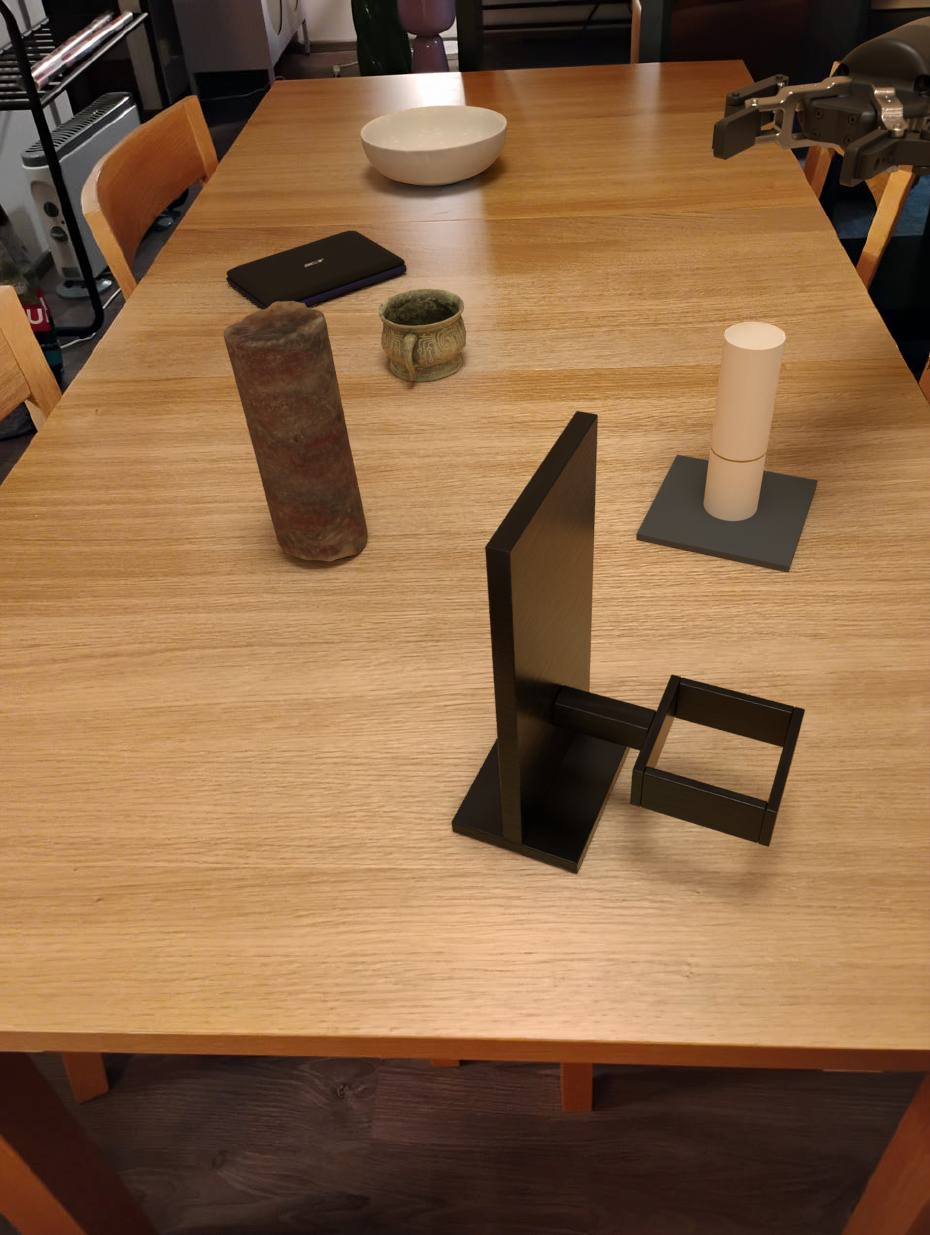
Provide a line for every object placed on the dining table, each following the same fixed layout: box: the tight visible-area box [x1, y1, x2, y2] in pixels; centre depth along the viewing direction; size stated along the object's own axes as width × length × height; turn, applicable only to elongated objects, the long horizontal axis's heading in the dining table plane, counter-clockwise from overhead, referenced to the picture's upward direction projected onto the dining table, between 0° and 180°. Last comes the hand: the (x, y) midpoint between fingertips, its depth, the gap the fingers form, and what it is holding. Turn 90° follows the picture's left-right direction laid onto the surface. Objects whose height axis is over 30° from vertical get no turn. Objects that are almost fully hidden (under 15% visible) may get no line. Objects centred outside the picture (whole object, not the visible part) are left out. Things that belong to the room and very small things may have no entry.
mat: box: [635, 454, 818, 573], centre depth 81 cm, size 12×12×1 cm
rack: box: [451, 410, 806, 874], centre depth 53 cm, size 18×12×23 cm
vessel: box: [378, 288, 467, 383], centre depth 101 cm, size 12×9×6 cm
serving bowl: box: [359, 104, 508, 187], centre depth 142 cm, size 21×21×7 cm
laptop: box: [225, 230, 407, 310], centre depth 120 cm, size 16×20×2 cm
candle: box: [223, 301, 368, 562], centre depth 75 cm, size 8×7×20 cm
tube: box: [704, 321, 787, 521], centre depth 76 cm, size 4×4×15 cm
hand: (780, 154), depth 59 cm, fingers open, 8 cm apart
